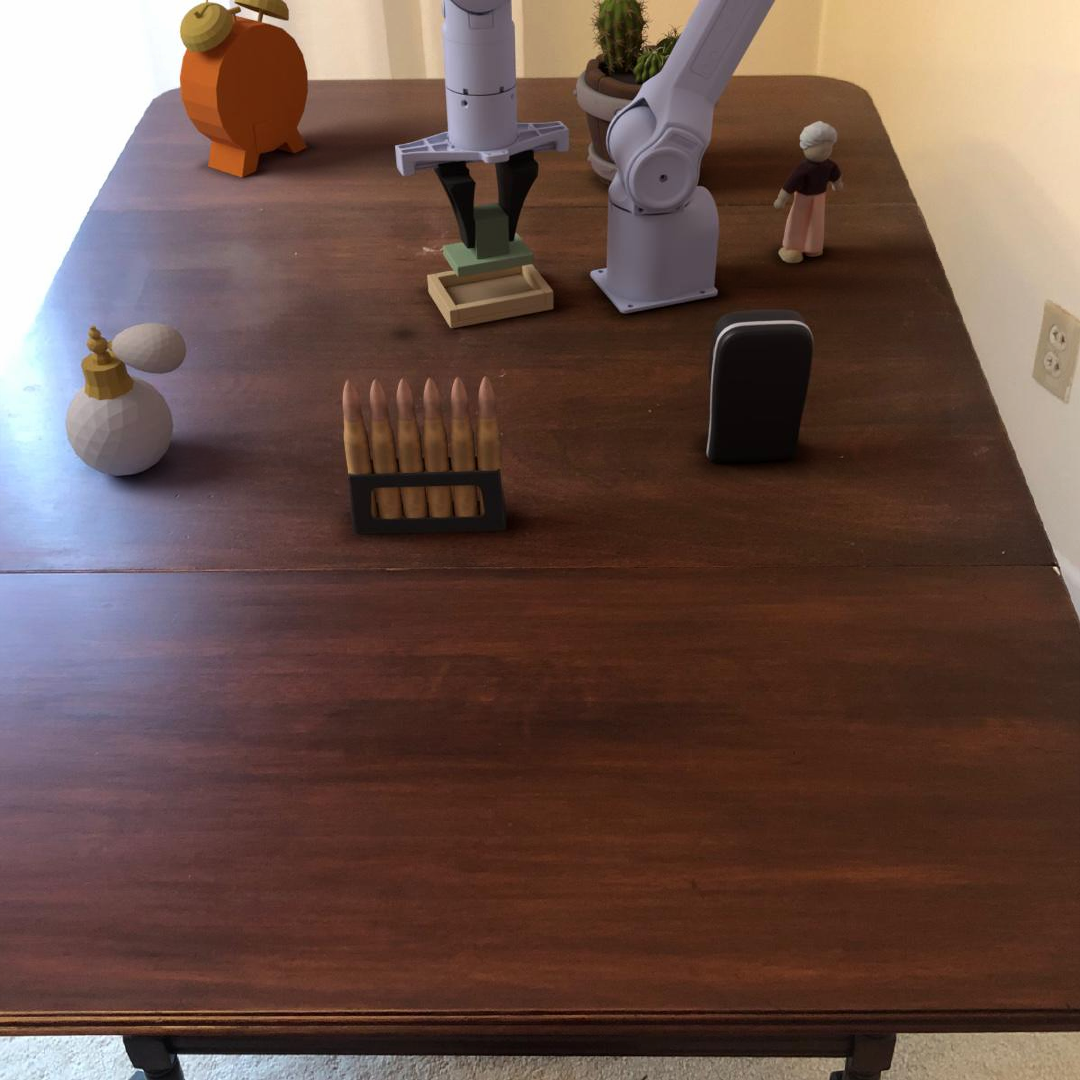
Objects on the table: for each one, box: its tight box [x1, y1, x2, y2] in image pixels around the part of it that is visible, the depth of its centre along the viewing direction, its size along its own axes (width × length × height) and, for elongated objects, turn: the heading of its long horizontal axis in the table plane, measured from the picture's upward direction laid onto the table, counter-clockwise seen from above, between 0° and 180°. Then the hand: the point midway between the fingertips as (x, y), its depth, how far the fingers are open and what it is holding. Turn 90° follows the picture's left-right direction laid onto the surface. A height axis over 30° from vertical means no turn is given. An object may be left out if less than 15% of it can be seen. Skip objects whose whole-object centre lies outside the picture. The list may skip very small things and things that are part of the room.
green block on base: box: [442, 202, 535, 277], centre depth 107 cm, size 7×4×4 cm, turn 110°
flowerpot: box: [572, 0, 720, 188], centre depth 125 cm, size 14×15×20 cm
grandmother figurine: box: [773, 120, 844, 264], centre depth 113 cm, size 8×4×13 cm, turn 131°
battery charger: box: [705, 309, 814, 463], centre depth 89 cm, size 7×4×11 cm, turn 93°
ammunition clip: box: [342, 375, 507, 535], centre depth 82 cm, size 11×2×12 cm, turn 92°
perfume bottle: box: [64, 322, 187, 477], centre depth 88 cm, size 8×10×12 cm
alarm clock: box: [179, 0, 309, 179], centre depth 130 cm, size 13×6×20 cm, turn 144°
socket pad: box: [426, 264, 554, 330], centre depth 110 cm, size 10×7×2 cm
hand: (487, 240), depth 107 cm, fingers closed on green block on base, 3 cm apart
